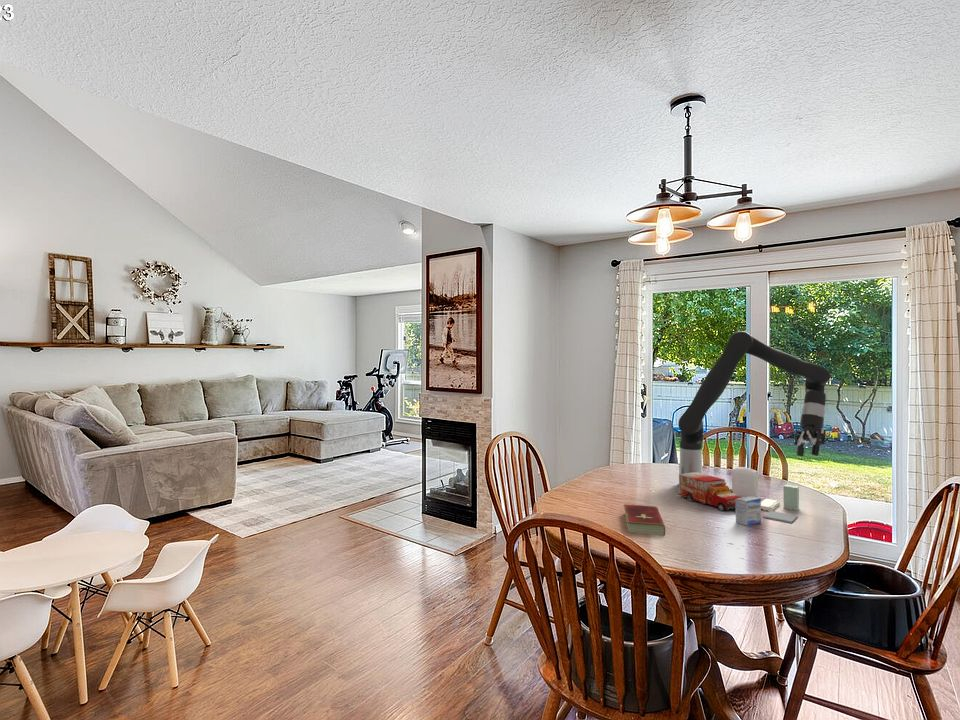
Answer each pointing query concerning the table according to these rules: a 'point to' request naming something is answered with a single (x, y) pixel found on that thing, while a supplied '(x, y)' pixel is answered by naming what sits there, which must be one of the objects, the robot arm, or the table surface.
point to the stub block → (791, 497)
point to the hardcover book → (644, 519)
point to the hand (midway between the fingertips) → (807, 455)
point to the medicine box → (748, 510)
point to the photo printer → (745, 482)
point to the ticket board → (769, 504)
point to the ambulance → (707, 490)
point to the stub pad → (780, 516)
